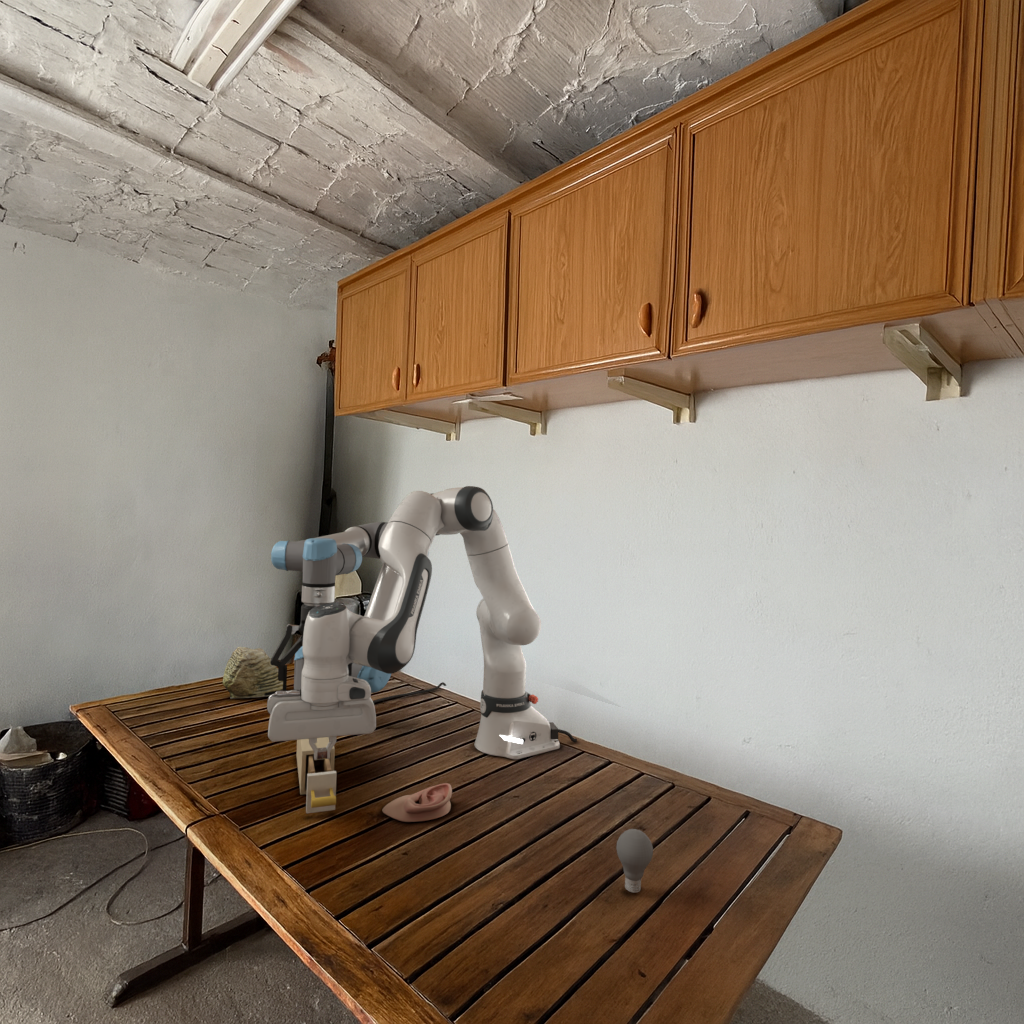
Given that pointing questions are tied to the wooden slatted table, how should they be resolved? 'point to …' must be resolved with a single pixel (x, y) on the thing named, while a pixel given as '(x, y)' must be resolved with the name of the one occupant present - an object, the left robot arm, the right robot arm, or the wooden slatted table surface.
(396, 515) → the right robot arm
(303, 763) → the cabinet
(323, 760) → the drawer
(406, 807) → the anatomical model
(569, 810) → the wooden slatted table surface
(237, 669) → the fossil
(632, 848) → the light bulb
